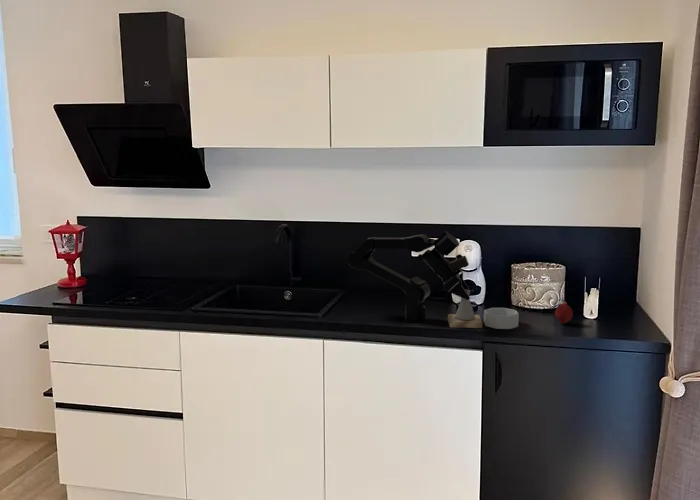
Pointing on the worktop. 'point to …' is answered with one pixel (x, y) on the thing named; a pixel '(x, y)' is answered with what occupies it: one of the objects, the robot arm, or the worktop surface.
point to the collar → (501, 318)
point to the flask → (465, 309)
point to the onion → (564, 313)
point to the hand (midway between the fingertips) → (469, 296)
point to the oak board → (464, 322)
